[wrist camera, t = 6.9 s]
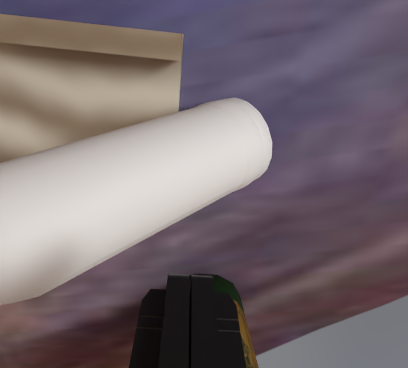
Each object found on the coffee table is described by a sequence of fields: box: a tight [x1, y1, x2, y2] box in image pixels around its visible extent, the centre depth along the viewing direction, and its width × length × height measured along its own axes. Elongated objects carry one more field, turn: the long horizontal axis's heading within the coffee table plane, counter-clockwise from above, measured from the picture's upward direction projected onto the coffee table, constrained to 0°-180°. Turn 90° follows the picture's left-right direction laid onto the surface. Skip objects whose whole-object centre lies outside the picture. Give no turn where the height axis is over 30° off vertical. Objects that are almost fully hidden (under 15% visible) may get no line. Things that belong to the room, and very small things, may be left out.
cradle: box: [0, 14, 184, 163], centre depth 30 cm, size 16×22×4 cm
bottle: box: [0, 98, 272, 305], centre depth 21 cm, size 8×8×30 cm
